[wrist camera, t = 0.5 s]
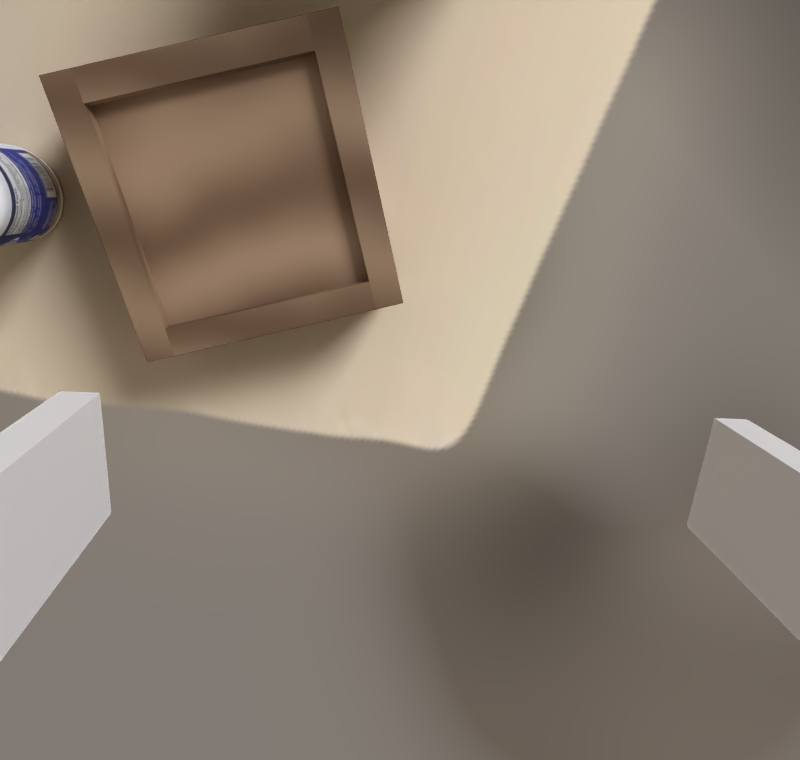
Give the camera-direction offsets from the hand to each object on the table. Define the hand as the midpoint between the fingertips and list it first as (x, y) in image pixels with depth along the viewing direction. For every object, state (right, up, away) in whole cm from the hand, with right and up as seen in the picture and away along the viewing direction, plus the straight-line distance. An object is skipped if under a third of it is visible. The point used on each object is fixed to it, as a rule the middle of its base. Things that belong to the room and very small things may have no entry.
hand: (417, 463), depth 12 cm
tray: (-9, +13, +22) cm, 27 cm away
